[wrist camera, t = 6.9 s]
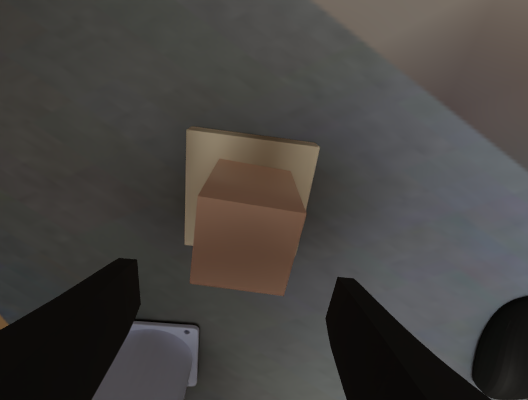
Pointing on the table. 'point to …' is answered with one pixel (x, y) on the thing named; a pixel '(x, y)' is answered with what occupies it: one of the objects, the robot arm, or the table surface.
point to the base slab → (246, 151)
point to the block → (246, 228)
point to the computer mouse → (504, 353)
